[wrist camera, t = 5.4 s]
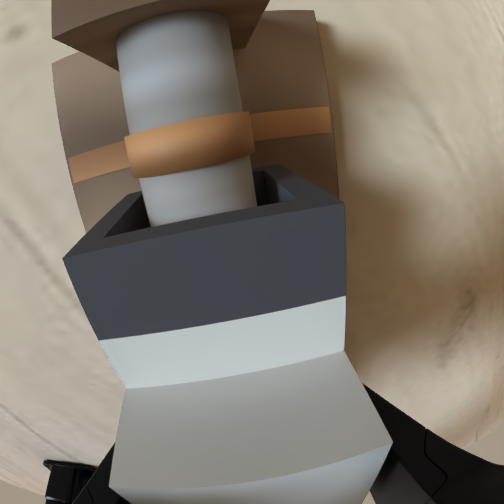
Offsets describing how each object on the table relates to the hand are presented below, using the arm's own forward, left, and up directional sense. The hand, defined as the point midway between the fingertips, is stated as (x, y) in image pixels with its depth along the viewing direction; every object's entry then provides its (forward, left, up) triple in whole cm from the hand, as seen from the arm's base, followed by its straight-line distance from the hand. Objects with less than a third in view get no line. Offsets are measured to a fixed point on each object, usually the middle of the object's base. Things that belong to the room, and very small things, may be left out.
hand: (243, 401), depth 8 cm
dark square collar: (+5, 0, -5) cm, 7 cm away
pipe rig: (-1, 0, -6) cm, 6 cm away
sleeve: (+1, 0, -5) cm, 5 cm away
